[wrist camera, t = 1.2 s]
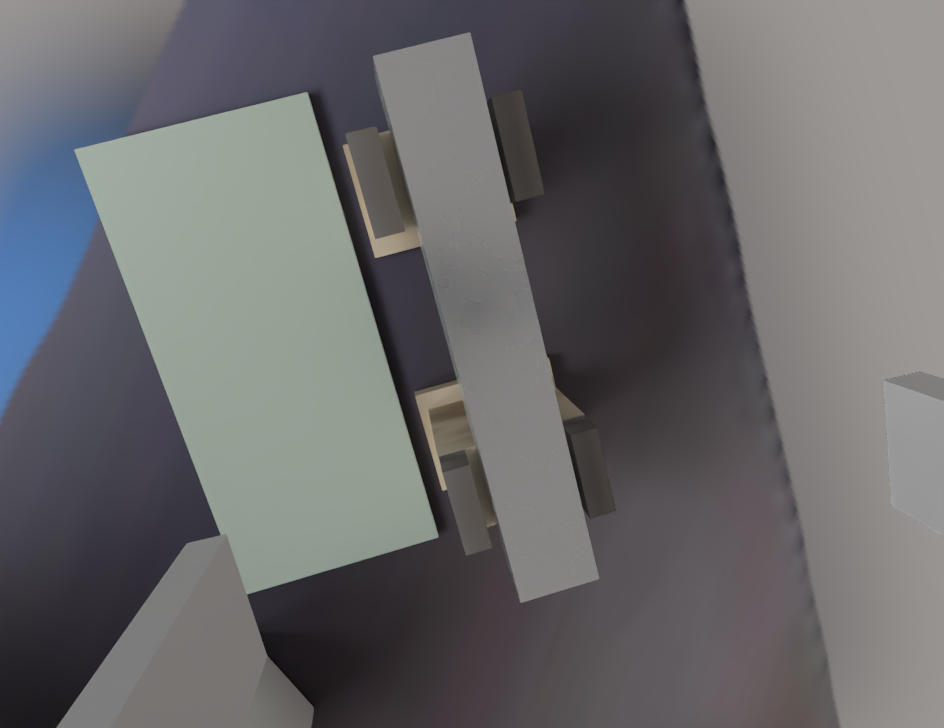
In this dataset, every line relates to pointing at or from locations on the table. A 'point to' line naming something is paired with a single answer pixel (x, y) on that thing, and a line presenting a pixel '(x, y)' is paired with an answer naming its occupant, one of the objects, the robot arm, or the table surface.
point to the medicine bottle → (278, 702)
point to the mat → (263, 337)
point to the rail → (486, 308)
